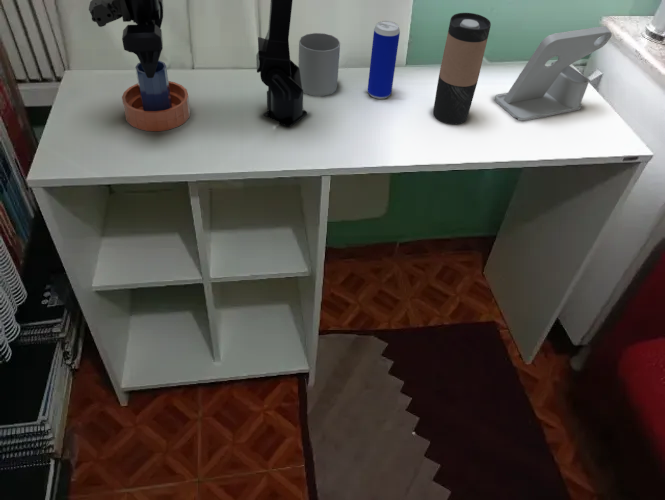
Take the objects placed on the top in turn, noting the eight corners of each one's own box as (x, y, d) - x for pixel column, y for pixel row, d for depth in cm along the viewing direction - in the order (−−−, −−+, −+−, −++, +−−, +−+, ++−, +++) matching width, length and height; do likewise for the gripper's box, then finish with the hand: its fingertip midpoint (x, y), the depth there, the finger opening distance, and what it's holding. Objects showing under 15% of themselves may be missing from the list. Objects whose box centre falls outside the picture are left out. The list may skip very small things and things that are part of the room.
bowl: (203, 114, 122) (201, 93, 119) (158, 141, 114) (154, 120, 111) (159, 93, 126) (156, 73, 123) (112, 118, 119) (108, 97, 115)
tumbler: (178, 113, 120) (172, 65, 114) (157, 124, 117) (150, 76, 110) (158, 103, 122) (151, 56, 116) (138, 114, 119) (129, 67, 112)
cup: (332, 98, 129) (335, 53, 122) (294, 92, 130) (295, 47, 123) (339, 79, 135) (343, 36, 128) (303, 74, 136) (304, 30, 129)
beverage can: (395, 92, 132) (405, 25, 122) (383, 102, 129) (392, 33, 119) (374, 85, 134) (382, 17, 124) (362, 94, 131) (369, 26, 121)
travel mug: (472, 111, 129) (496, 18, 115) (462, 129, 123) (485, 33, 110) (438, 102, 131) (456, 8, 117) (426, 118, 125) (445, 23, 112)
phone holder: (555, 86, 139) (583, 7, 126) (585, 109, 132) (617, 28, 120) (492, 98, 133) (513, 16, 121) (519, 122, 127) (545, 38, 114)
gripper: (91, -42, 107) (108, 43, 118) (80, 1, 94) (101, 92, 105) (157, -42, 109) (168, 42, 120) (155, 0, 96) (168, 90, 107)
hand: (151, 65), depth 113 cm, fingers open, 9 cm apart
